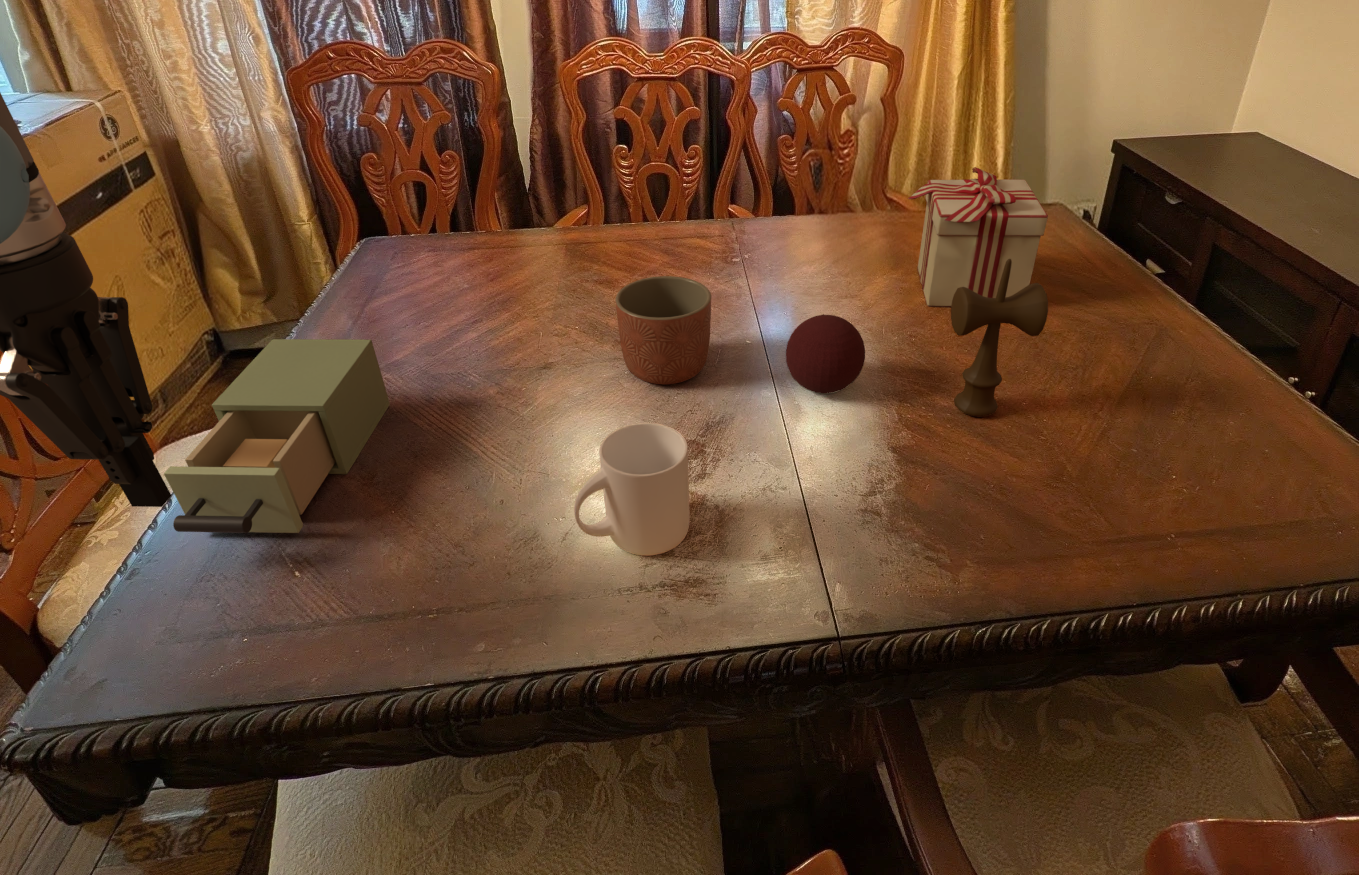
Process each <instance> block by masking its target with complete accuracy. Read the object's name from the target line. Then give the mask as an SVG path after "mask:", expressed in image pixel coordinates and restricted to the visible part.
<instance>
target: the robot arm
mask: <svg viewBox="0 0 1359 875" xmlns="http://www.w3.org/2000/svg"><path fill="white" fill-rule="evenodd" d="M66 227H67V224H66V222H65V219H64V218H63V216H62V214H61V212H60V210H59V208H58V206H57V204H56V202H55V199H54V198H53V196H52V194H51V192H50V190H49V188H48V187H47V184H46V182H45V180H44V179H43V177H42V175H41V173H40V169H39V168H38V166H37V164H36V162H35V160H34V157H33V155H32V152H31V151H30V150H29V147H28V145H27V144H26V142H25V138H23V135H22V134H21V131H20V130H19V126H18V125H17V123H16V121H15V119H14V117H13V115H12V113H11V111H10V109H9V107H8V105H7V103H6V101H5V99H4V97H3V95H2V93H1V92H0V352H1V353H2V354H3V355H2V358H1V361H0V396H2V397H3V398H6V399H8V400H9V401H10V402H11V403H12V404H13V405H14V406H15V407H16V408H17V409H18V410H19V411H20V412H21V413H22V414H23V415H24V416H25V417H26V418H28V420H29V421H30V422H31V423H32V424H33V425H34V426H35V427H36V428H37V429H38V430H39V431H41V433H43V435H44V436H46V437H47V438H48V439H49V440H50V441H51V442H52V444H54V445H55V447H57V448H58V449H59V450H60V451H61V452H62V453H63V454H64V455H65V456H66V457H67V458H68V459H69V460H85V461H86V460H89V461H92V460H94V461H96V460H97V461H98V462H99V463H100V465H101V466H102V468H103V470H104V471H105V473H106V475H107V477H108V478H109V480H110V482H112V483H113V484H114V485H119V487H120V488H121V490H122V492H123V494H124V495H125V497H126V499H127V500H128V502H129V504H130V506H131V507H132V508H133V507H135V508H137V507H139V508H140V507H141V508H143V507H146V508H150V507H151V508H163V506H165V504H166V503H168V501H169V499H171V497H172V496H173V495H172V493H171V492H170V490H169V488H168V486H167V484H166V482H165V480H164V479H163V477H162V475H161V473H160V471H159V469H158V467H157V466H156V464H155V462H154V460H155V453H154V451H153V449H152V448H151V446H150V444H149V442H148V440H147V438H146V436H145V434H149V433H151V432H152V429H153V423H152V421H143V418H144V417H145V415H150V414H151V413H152V411H153V403H152V400H151V396H150V393H149V390H148V387H147V382H146V379H145V376H144V372H143V368H142V366H141V362H140V358H139V356H138V352H137V349H136V348H137V347H136V346H135V341H134V339H133V334H132V331H131V328H130V319H129V318H130V316H129V302H128V300H127V299H126V298H125V297H123V296H108V297H107V296H98V294H97V293H96V291H95V290H94V289H93V288H92V285H93V283H94V275H93V273H92V270H91V269H90V267H89V265H88V263H87V261H86V259H85V257H84V255H83V253H82V251H81V249H80V247H79V245H78V243H77V241H76V238H74V237H73V236H72V235H70V234H68V233H66V232H65V229H66ZM131 398H133V399H131Z"/></svg>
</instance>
